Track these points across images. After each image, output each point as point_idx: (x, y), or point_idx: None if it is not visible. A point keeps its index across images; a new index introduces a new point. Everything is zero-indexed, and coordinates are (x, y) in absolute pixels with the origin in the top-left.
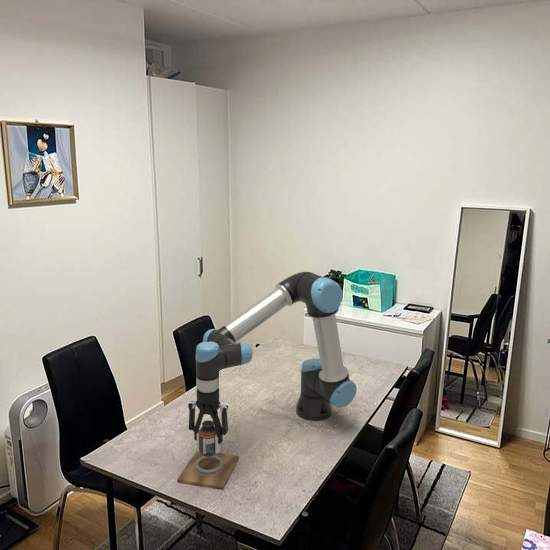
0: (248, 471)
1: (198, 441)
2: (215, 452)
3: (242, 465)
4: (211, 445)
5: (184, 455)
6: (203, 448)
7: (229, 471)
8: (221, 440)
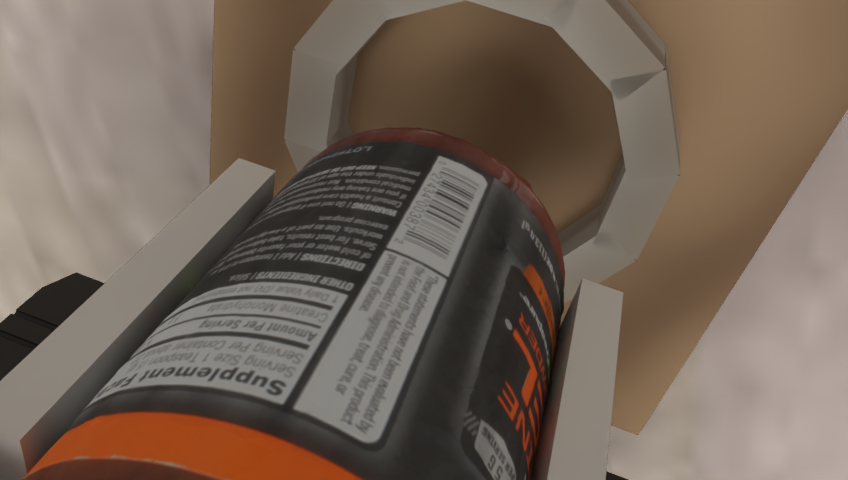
0: (75, 53)
1: (566, 431)
2: (267, 176)
3: (160, 155)
4: (245, 254)
5: (790, 390)
6: (455, 237)
7: (230, 29)
8: (2, 327)
